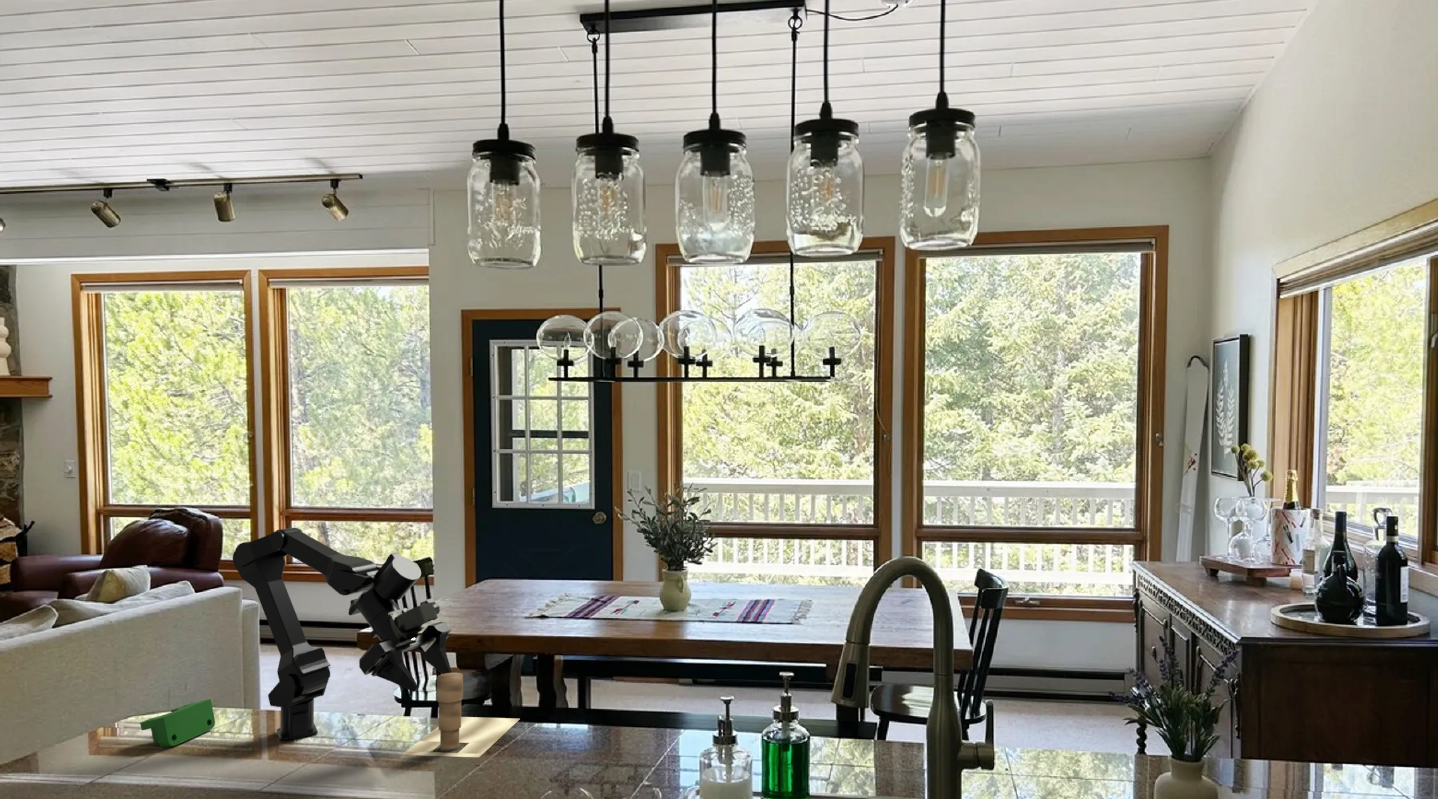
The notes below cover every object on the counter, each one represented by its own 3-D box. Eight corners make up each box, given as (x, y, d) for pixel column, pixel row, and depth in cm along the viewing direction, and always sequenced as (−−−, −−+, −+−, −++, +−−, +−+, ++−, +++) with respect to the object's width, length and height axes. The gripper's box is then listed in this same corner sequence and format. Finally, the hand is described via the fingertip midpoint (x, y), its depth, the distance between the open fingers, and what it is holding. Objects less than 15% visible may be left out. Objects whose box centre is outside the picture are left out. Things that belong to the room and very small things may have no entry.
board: (401, 763, 147) (401, 754, 147) (451, 724, 167) (451, 716, 167) (478, 766, 145) (478, 757, 145) (520, 726, 165) (520, 718, 165)
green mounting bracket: (185, 754, 164) (192, 705, 168) (212, 748, 163) (217, 699, 167) (132, 751, 154) (140, 699, 158) (159, 744, 153) (167, 692, 157)
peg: (437, 752, 151) (438, 673, 152) (463, 750, 152) (463, 671, 153) (435, 761, 147) (436, 680, 148) (462, 759, 148) (462, 678, 149)
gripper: (372, 596, 145) (425, 666, 141) (443, 578, 163) (491, 641, 159) (336, 639, 148) (386, 709, 143) (409, 617, 165) (456, 679, 161)
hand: (433, 682), depth 152 cm, fingers open, 9 cm apart
